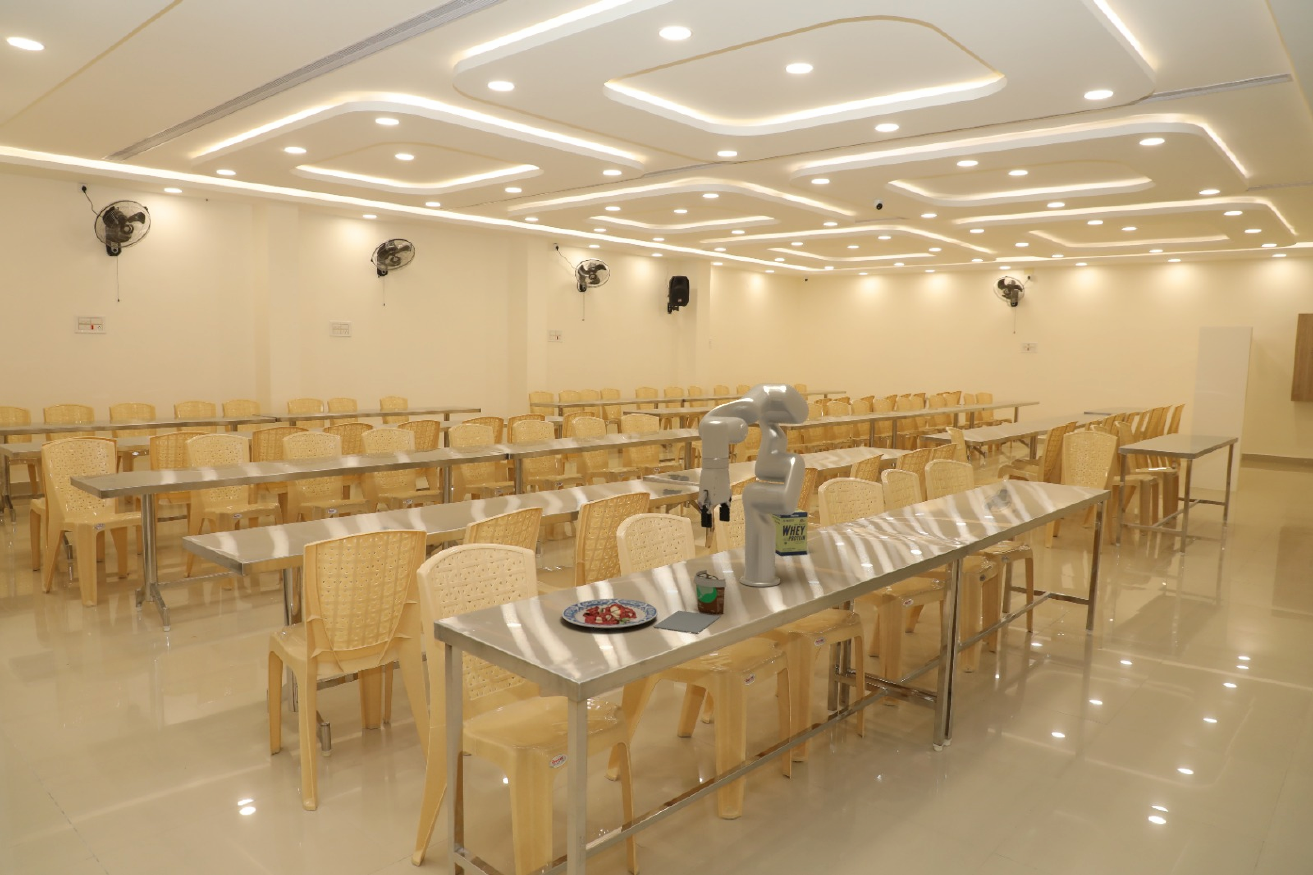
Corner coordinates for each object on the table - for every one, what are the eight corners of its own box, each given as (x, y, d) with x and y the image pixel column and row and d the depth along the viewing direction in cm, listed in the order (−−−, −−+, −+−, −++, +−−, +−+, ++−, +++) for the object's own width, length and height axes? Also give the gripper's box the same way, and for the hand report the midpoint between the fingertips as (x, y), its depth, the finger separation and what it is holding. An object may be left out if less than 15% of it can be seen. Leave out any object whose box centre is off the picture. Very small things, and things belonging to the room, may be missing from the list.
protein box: (780, 556, 304) (781, 513, 303) (765, 547, 319) (765, 506, 318) (807, 554, 307) (808, 512, 305) (791, 546, 322) (791, 505, 320)
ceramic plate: (551, 612, 237) (551, 601, 237) (638, 602, 247) (638, 592, 246) (576, 639, 214) (576, 628, 213) (672, 628, 223) (672, 616, 222)
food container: (686, 606, 242) (686, 571, 241) (705, 603, 244) (705, 569, 243) (705, 618, 230) (705, 581, 230) (725, 615, 233) (726, 579, 232)
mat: (678, 611, 237) (678, 610, 237) (720, 617, 231) (720, 616, 231) (653, 627, 222) (653, 626, 222) (697, 634, 217) (697, 632, 217)
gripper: (719, 459, 247) (720, 517, 249) (687, 466, 233) (687, 528, 235) (742, 461, 243) (742, 520, 245) (710, 468, 229) (710, 531, 231)
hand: (715, 524), depth 240 cm, fingers open, 9 cm apart
